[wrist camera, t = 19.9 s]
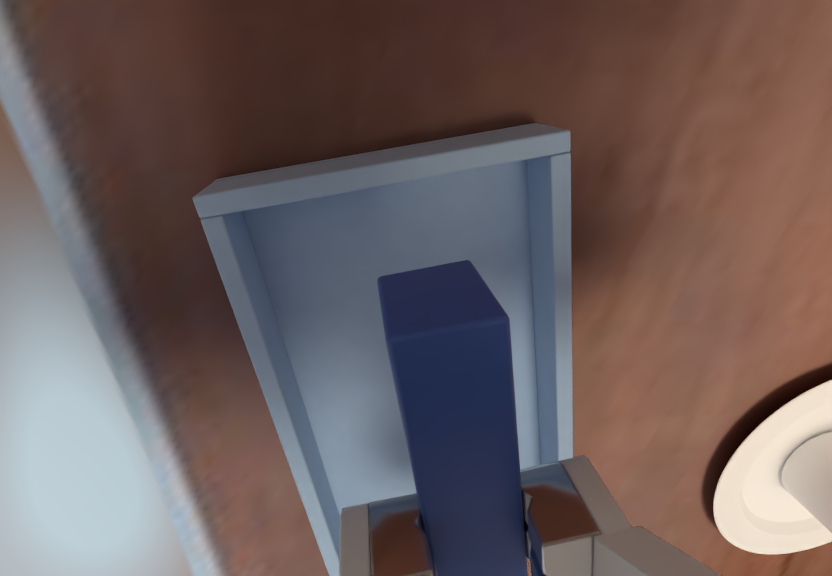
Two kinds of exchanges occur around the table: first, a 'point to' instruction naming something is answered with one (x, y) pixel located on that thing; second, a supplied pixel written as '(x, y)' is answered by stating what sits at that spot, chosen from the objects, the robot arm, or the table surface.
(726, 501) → the candle holder
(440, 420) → the blue spoon
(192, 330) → the table surface
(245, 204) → the blue tray
